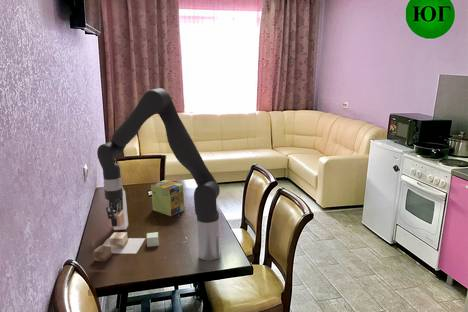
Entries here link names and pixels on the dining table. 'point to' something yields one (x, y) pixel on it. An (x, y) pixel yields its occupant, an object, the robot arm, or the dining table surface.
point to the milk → (124, 214)
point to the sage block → (152, 239)
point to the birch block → (118, 240)
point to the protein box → (167, 197)
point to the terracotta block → (118, 220)
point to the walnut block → (102, 253)
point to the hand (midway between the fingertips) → (116, 223)
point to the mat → (127, 246)
